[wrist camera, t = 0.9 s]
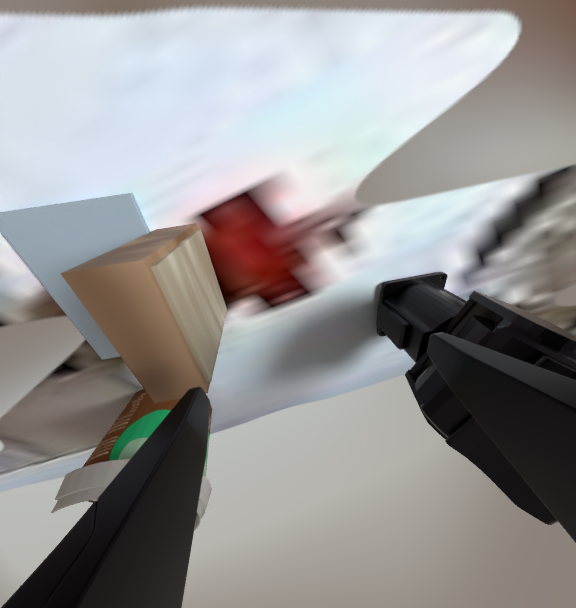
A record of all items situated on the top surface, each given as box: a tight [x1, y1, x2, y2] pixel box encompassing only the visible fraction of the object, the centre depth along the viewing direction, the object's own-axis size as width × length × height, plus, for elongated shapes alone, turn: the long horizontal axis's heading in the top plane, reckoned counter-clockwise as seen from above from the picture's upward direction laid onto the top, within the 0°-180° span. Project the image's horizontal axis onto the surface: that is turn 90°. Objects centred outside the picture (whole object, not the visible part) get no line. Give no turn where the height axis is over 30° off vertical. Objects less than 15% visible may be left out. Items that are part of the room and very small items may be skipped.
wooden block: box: [60, 223, 227, 403], centre depth 14 cm, size 3×8×9 cm, turn 8°
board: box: [0, 193, 150, 360], centre depth 17 cm, size 9×13×1 cm
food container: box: [51, 389, 212, 530], centre depth 21 cm, size 12×6×10 cm, turn 34°
